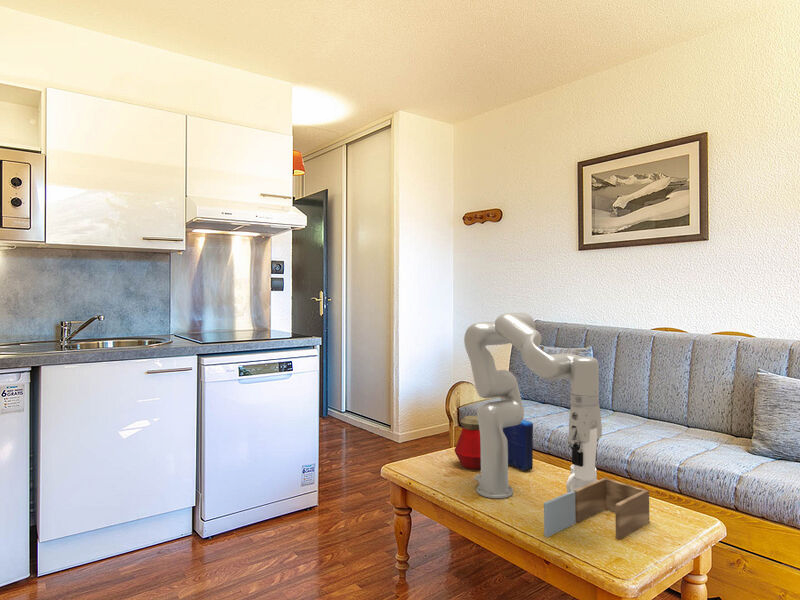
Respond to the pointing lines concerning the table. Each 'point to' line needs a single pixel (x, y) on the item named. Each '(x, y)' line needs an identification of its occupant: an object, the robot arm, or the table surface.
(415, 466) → the table surface
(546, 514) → the thin blue-gray plank
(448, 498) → the table surface
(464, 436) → the red faceted jar
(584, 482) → the mug
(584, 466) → the drinking glass
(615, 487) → the u-shaped wooden frame
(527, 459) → the book
